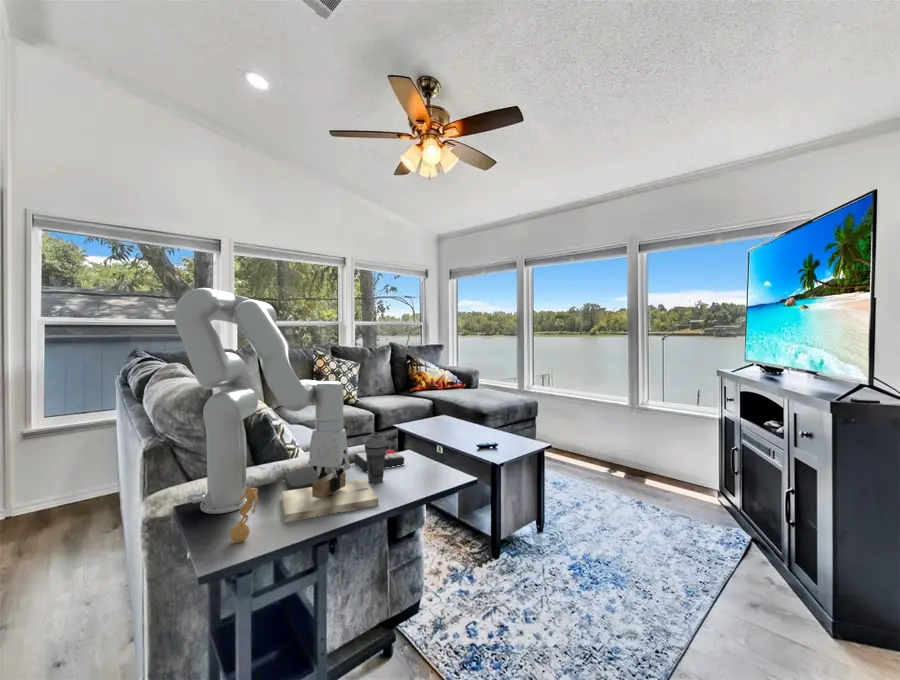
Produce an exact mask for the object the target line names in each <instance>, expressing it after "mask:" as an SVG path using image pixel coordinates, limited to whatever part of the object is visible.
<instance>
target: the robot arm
mask: <svg viewBox="0 0 900 680" xmlns="http://www.w3.org/2000/svg"><path fill="white" fill-rule="evenodd" d="M173 315H174V318H173V319H174V323H175V326H176V329H177V332H178V335H179V337H180V338H181V341H182V344H183V346H184V348H185V352H186V355H187V358H188V360H189V363H190V366H191V368H192V371H193V374H194V377H195V378H196V380H197V382H198V383H199V385H201V386H202V387H204V388H206V389H216V388H219V390H220V391H219V392H217V393H214V394H213V395H211V396H210V397H209V398H208V399H207V400H206V402H205V403H204V407H203V410H202V411H203V412H202V413H203V415H202V417H203V422H204V426H205V432H206V455H207V456H206V461H207V462H206V473H207V475H206V477H207V482H206V484H207V487H206V490H201V492H198V493H197V492H195V493H188V495H187V501H188V502H191V503H192V504H197V503H200V511H201V512H204V513H206V514H212V515H214V514H216V515H217V514H219V515H220V514H226V513H231V512H235V511H238V510H240V509H241V508H242V506H243V505H244V503H245V502H246V496H245V497H244V498H243V499H242V500H241V501H240V503H238V502H239V500H240V499H241V497H242V496H243V495H244V494H245V491H246V488H247V435H246V434H247V433H246V428H245V426H244V425H245V424H244V419H246V418H248V417H250V416H251V415H252V414H254V413H255V412H256V410H257V408H258V407H259V396H258V394H257V389H256V388H255V385H254V382H253V380H252V379H253V378H252V377H251V375H250V372H249V369H248V367H247V364H246V363H245V361H244V360H243V358H242V357H241V356H239V355H238V354H236V353H233V352H227V351H225V348H224V347H223V344H222V341H221V338H220V336H219V334H218V332H217V330H215V328H214V326H213V325H212V322H211V321H223V322H228V323H231V324H235V325H237V327H238V328H239V330H240V332H241V333H242V335H243V336H244V337H245V338H246V339H245V340H247V342H248V344H249V345H250V346H251V348H252V349H253V351H254V352H255V355H256V356H257V357H258V359H259V362H260V367H261V370H262V374H263V377H264V379H265V382H266V384H267V385H268V387H269V389H270V391H271V392H272V393H273V395H274V397H275V399H277V402H279V404H280V405H281V406H282V407H283V408H285V409H286V410H288V411H290V412H300V411H302V410H304V409H305V408H307V407H309V406H311V405H312V406H313V405H315V419H313V420H312V425H315V429H312V433H311V438H310V443H309V444H310V445H309V459H308V461H307V462H308V465H309V466H310V467H313V468H314V470H315V471H316V472H317V473H316V474H317V476H318V479H321V478H323V477H325V476H327V475H328V474H327V473H326V468H331V469H332V471H333V478H332V479H331V491H332V492H335V491H337V490H338V489H339V488H340V475H342V473H343V472H346V471H348V470H350V469H352V465H351V463H350V461H349V450H348V449H349V448H348V447H349V446H348V439H347V438H348V437H347V432H346V429H345V428H344V385H343V383H342V382H341V381H339V380H322V381H321V380H312V379H299V377H298V376H297V374H296V372H295V371H294V370H293V367H292V365H291V362H290V360H289V350H290V345H289V342H288V340H287V339H286V337H285V336H284V334H283V333H282V331H281V330H280V328H279V327H278V326H277V324H276V323H277V320H278V319H277V317H278V316H277V311H276V310H275V308H274V307H273V306H272V305H271V304H269V303H267V302H265V301H260V300H256V299H252V298H248V297H245V296H242V295H241V296H240V295H237V294H233V293H231V292H226V291H221V290H218V289H212V288H210V287H209V288H207V287H199V288H193V289H190V290H189V291H187V292H186V293H184V294H183V295H182V296H181V297H180V298H179V300H178V301H177V303H176V305H175V309H174V314H173ZM342 465H343V466H342Z"/></svg>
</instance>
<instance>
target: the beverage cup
mask: <svg viewBox="0 0 900 680" xmlns="http://www.w3.org/2000/svg"><path fill="white" fill-rule="evenodd" d="M371 428H372V433H371V434H369V435H368V436H367V438H366V439H365V442H364V446H363V447H364V451H365V452H366V458H367V471H368V472H367V478H368V484H372V485H378V484H381V483H383V481H384V473H385V472H384V471H385V468H384V463H385V452H386V450H388V449H387V447H388V441H387V439H386V437H385V436H384V435H383V434H382V433H380V432H376V431H375V426H374V419H371ZM365 452H364V453H365Z"/></svg>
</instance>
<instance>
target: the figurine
mask: <svg viewBox="0 0 900 680" xmlns="http://www.w3.org/2000/svg"><path fill="white" fill-rule="evenodd" d="M258 492H259V489H258V488H256V487H249V486H246V491H245V494H244V495H243V496H242V497H241V499H240V500H239V502H238V503H240V501H241V500H242V499H243V498H244V497H245V496H246V502H245V503H244V505H243V506H242V508H241V509H238V510H239V511H238V512H239V515H241V516H242V518H241V519H240V521H238V522H237V523H236V524H234V526H232V528H231V529H230V531H229V538H230V539H231V541H233V542H234V543H242V542H244V541H245V540H247V539H248V537H249V535H250V527H249V525H248V524H246V523H247V521H248V520H249V515H248V513H249V511H250V512H251V515H254V514H255V512H256V508H257V505H258V502H259V497H258ZM254 500H255V503H254V506H252V504H253V502H254ZM252 508H253V509H252ZM251 509H252V510H251Z"/></svg>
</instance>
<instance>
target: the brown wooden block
mask: <svg viewBox="0 0 900 680" xmlns="http://www.w3.org/2000/svg"><path fill="white" fill-rule="evenodd" d="M332 478H333V473H332V474H329V475H327V476H325V477H323V478H321V479H318V480H316V481H314V482H312V497H316V498H320V499H321V498H323V497H325V496H332V495H334V492H332V491H331V479H332ZM345 482H346V471H344V472H343V473H342V475H340V488H339V489H341V488H343V487H345ZM339 489H338V490H339Z"/></svg>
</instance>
